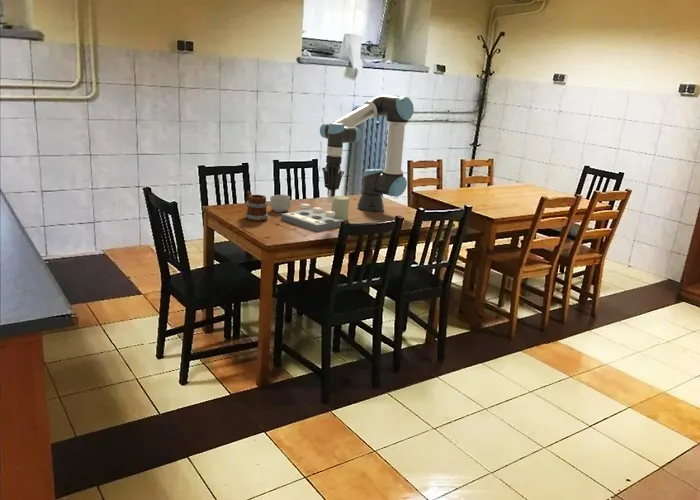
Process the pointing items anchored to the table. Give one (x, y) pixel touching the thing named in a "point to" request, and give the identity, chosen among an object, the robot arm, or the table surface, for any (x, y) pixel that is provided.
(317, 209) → the button middle
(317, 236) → the table surface
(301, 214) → the button board
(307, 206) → the button
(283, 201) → the teacup
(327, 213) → the button
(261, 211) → the mug
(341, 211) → the can
